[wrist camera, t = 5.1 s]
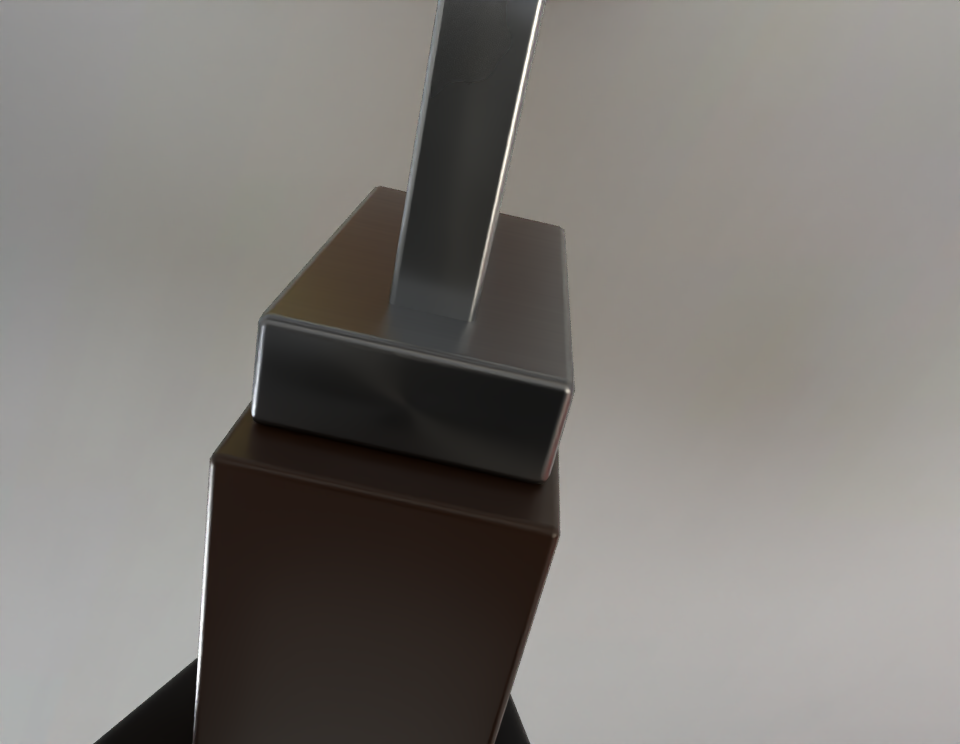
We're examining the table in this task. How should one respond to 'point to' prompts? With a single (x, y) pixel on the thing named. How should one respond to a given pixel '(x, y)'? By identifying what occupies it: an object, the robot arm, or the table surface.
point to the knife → (399, 443)
